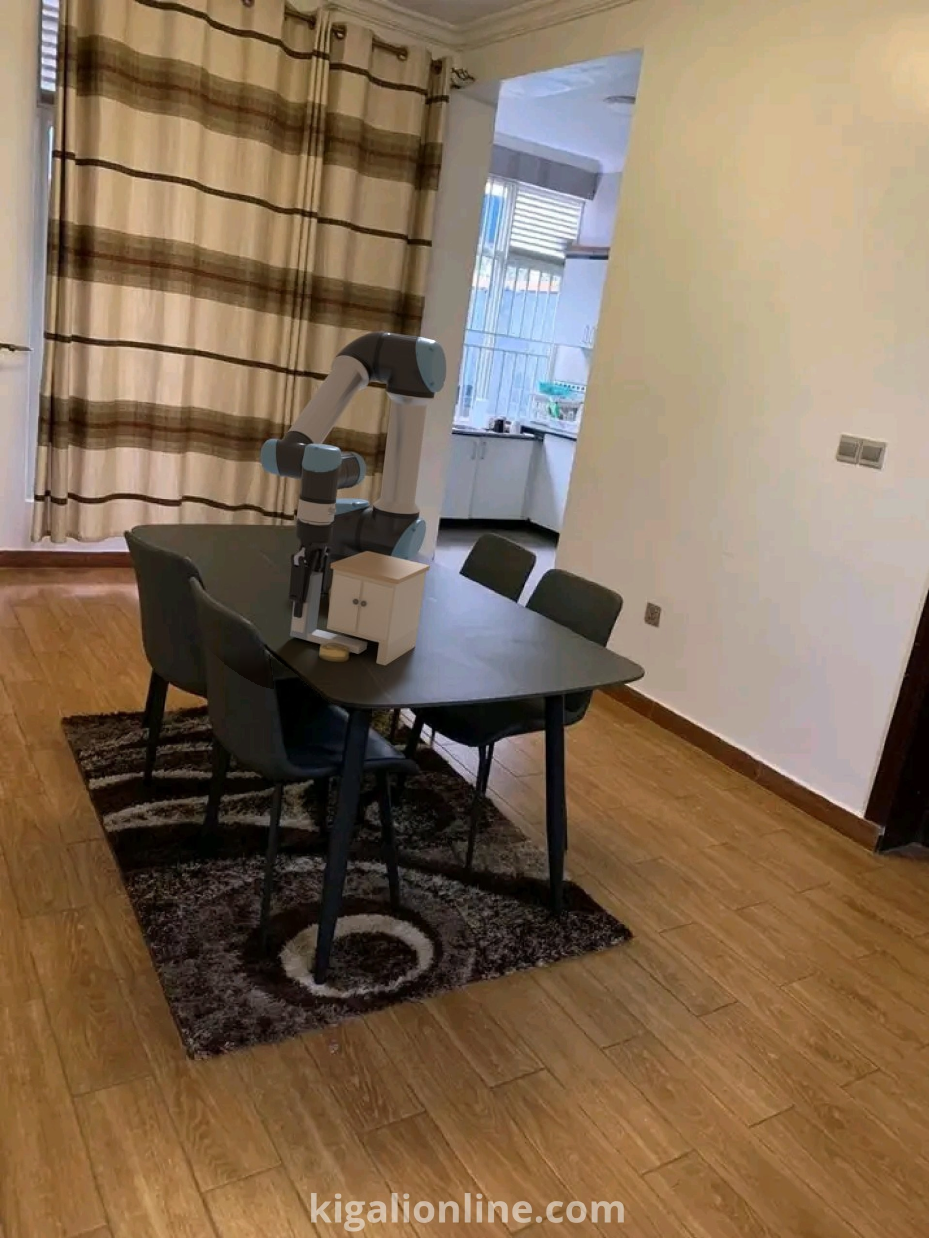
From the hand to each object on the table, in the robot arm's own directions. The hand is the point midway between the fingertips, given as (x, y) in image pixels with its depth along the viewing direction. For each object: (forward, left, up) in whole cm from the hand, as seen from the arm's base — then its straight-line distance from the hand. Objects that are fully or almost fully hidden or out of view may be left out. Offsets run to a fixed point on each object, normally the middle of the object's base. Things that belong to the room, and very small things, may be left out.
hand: (303, 628), depth 198 cm
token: (+10, -5, -3) cm, 12 cm away
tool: (+6, 0, -2) cm, 6 cm away
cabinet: (+13, +6, -2) cm, 15 cm away
